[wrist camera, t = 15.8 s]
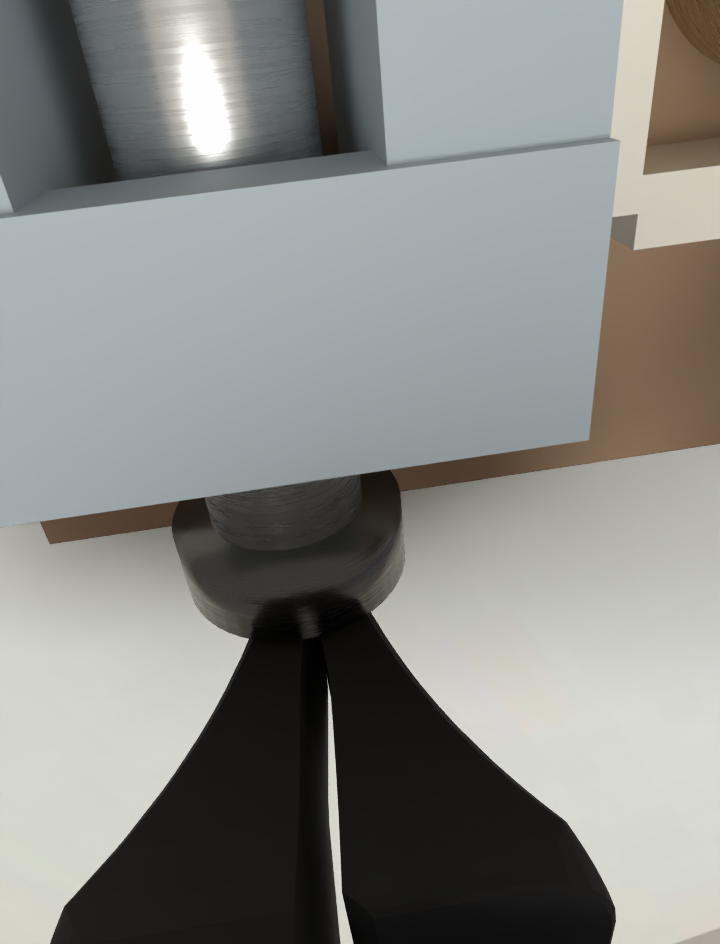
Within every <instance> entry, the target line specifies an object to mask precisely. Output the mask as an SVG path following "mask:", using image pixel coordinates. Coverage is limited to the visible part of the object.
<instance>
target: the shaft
mask: <svg viewBox="0 0 720 944" xmlns="http://www.w3.org/2000/svg"><path fill="white" fill-rule="evenodd" d="M69 3H70V7H71V11H72V14H73V18H74V22H75V25H76V29H77V33H78V36H79V40H80V44H81V47H82V51H83V55H84V58H85V62H86V66H87V69H88V73H89V77H90V80H91V84H92V88H93V91H94V95H95V99H96V102H97V106H98V109H99V113H100V117H101V120H102V124H103V128H104V131H105V135H106V139H107V142H108V146H109V150H110V153H111V157H112V161H113V164H114V168H115V172H116V175H117V179H118V182H119V181H127V180H135V179H143V178H151V177H159V176H167V175H175V174H183V173H191V172H199V171H207V170H216V169H224V168H232V167H240V166H248V165H256V164H264V163H272V162H280V161H288V160H296V159H304V158H312V157H320V156H323V153H322V145H321V136H320V127H319V119H318V110H317V101H316V93H315V84H314V75H313V67H312V58H311V49H310V41H309V32H308V23H307V15H306V6H305V0H69ZM172 533H173V538H174V541H175V544H176V548H177V551H178V554H179V557H180V560H181V563H182V567H183V570H184V573H185V576H186V579H187V582H188V585H189V589H190V592H191V595H192V597H193V600H194V602H195V605H196V606H197V608H198V609H199V611H200V612H201V613H202V614H203V615H204V616H205V617H206V618H207V619H208V620H209V621H210V622H212V623H213V624H214V625H216V626H217V627H219V628H221V629H223V630H225V631H227V632H229V633H232V634H235V635H238V636H240V637H244V638H249V639H254V640H262V641H294V640H303V639H308V638H312V637H317V636H321V635H324V634H327V633H331V632H334V631H336V630H339V629H341V628H343V627H346V626H348V625H350V624H352V623H354V622H356V621H357V620H359V619H361V618H363V617H364V616H365V615H367V614H368V613H370V612H371V611H373V610H374V609H375V608H376V607H377V606H378V605H380V604H381V603H382V602H383V601H384V600H385V599H386V598H387V596H388V595H389V594H390V593H391V592H392V590H393V589H394V587H395V586H396V584H397V582H398V581H399V578H400V576H401V574H402V571H403V567H404V562H405V548H404V535H403V522H402V509H401V496H400V489H399V485H398V482H397V480H396V478H395V476H394V475H393V473H392V472H391V470H384V471H378V472H371V473H364V474H357V475H351V476H344V477H337V478H330V479H324V480H317V481H310V482H303V483H297V484H290V485H283V486H276V487H270V488H263V489H256V490H250V491H243V492H236V493H229V494H223V495H216V496H209V497H202V498H196V499H189V500H182V501H179V503H178V505H177V507H176V509H175V512H174V515H173V519H172Z"/></svg>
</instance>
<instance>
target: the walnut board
mask: <svg viewBox="0 0 720 944" xmlns="http://www.w3.org/2000/svg"><path fill="white" fill-rule="evenodd" d="M305 6H306V15H307V23H308V32H309V41H310V49H311V58H312V67H313V75H314V84H315V93H316V101H317V110H318V119H319V127H320V136H321V145H322V153H323V156H328V155H336V154H339V147H338V138H337V128H336V118H335V109H334V99H333V89H332V80H331V70H330V60H329V50H328V41H327V31H326V21H325V12H324V2H323V0H305ZM717 137H720V64H718V63H716V62H715V61H713V60H711V59H710V58H708V57H706V56H704V55H703V54H702V53H701V52H700V51H699V50H697V49H696V48H695V47H694V46H693V45H692V44H691V43H690V42H689V41H688V40H687V38H686V37H685V36H684V35H683V33H682V32H681V31H680V30H679V28H678V26H677V24H676V23H675V21H674V19H673V17H672V16H671V14H670V12H669V9H668V6H667V4H666V1H664V9H663V17H662V25H661V33H660V41H659V49H658V57H657V65H656V73H655V81H654V89H653V97H652V106H651V114H650V122H649V130H648V138H647V146H653V145H661V144H669V143H677V142H685V141H693V140H701V139H709V138H717ZM714 444H720V239H713V240H706V241H698V242H691V243H684V244H676V245H669V246H661V247H654V248H646V249H639V250H632V249H630V248H629V247H627V246H625V245H623V244H622V243H620V242H618V241H616V240H614V239H613V238H611V237H610V244H609V253H608V263H607V272H606V282H605V291H604V301H603V311H602V320H601V330H600V339H599V349H598V358H597V368H596V377H595V387H594V396H593V406H592V415H591V425H590V434H589V440H586V441H580V442H573V443H566V444H559V445H553V446H546V447H539V448H533V449H526V450H519V451H512V452H506V453H499V454H492V455H485V456H479V457H472V458H465V459H458V460H452V461H445V462H438V463H431V464H425V465H418V466H411V467H405V468H398V469H391V472H392V473H393V475H394V476H395V478H396V480H397V482H398V485H399V489H400V492H401V491H407V490H414V489H421V488H427V487H434V486H441V485H447V484H454V483H461V482H467V481H474V480H481V479H487V478H494V477H501V476H507V475H514V474H521V473H527V472H534V471H541V470H547V469H554V468H561V467H567V466H574V465H581V464H587V463H594V462H601V461H607V460H614V459H621V458H627V457H634V456H641V455H647V454H654V453H661V452H667V451H674V450H681V449H687V448H694V447H700V446H707V445H714ZM178 503H179V501H175V502H169V503H162V504H155V505H148V506H142V507H135V508H128V509H121V510H115V511H108V512H101V513H95V514H88V515H81V516H74V517H68V518H61V519H54V520H47V521H41V522H40V523H41V525H42V528H43V530H44V532H45V534H46V536H47V539H48V541H49V543H50V544H55V543H61V542H68V541H75V540H81V539H88V538H94V537H101V536H108V535H114V534H121V533H128V532H134V531H141V530H148V529H154V528H161V527H168V526H172V519H173V515H174V512H175V509H176V507H177V505H178Z"/></svg>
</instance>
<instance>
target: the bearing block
mask: <svg viewBox="0 0 720 944" xmlns="http://www.w3.org/2000/svg"><path fill="white" fill-rule="evenodd" d="M323 2H324V12H325V21H326V31H327V41H328V50H329V60H330V70H331V80H332V89H333V99H334V109H335V118H336V128H337V138H338V147H339V154H336V155H328V156H320V157H312V158H304V159H296V160H288V161H280V162H272V163H264V164H256V165H248V166H240V167H232V168H224V169H216V170H207V171H199V172H191V173H183V174H175V175H167V176H159V177H151V178H143V179H135V180H127V181H119V182H118V179H117V175H116V172H115V168H114V164H113V161H112V157H111V153H110V150H109V146H108V142H107V139H106V135H105V131H104V128H103V124H102V120H101V117H100V113H99V109H98V106H97V102H96V99H95V95H94V91H93V88H92V84H91V80H90V77H89V73H88V69H87V66H86V62H85V58H84V55H83V51H82V47H81V44H80V40H79V36H78V33H77V29H76V25H75V22H74V18H73V14H72V11H71V7H70V3H69V0H0V527H7V526H14V525H20V524H27V523H34V522H41V521H47V520H54V519H61V518H68V517H74V516H81V515H88V514H95V513H101V512H108V511H115V510H121V509H128V508H135V507H142V506H148V505H155V504H162V503H169V502H175V501H182V500H189V499H196V498H202V497H209V496H216V495H223V494H229V493H236V492H243V491H250V490H256V489H263V488H270V487H276V486H283V485H290V484H297V483H303V482H310V481H317V480H324V479H330V478H337V477H344V476H351V475H357V474H364V473H371V472H378V471H384V470H391V469H398V468H405V467H411V466H418V465H425V464H431V463H438V462H445V461H452V460H458V459H465V458H472V457H479V456H485V455H492V454H499V453H506V452H512V451H519V450H526V449H533V448H539V447H546V446H553V445H559V444H566V443H573V442H580V441H586V440H589V434H590V425H591V415H592V406H593V396H594V387H595V377H596V368H597V358H598V349H599V339H600V330H601V320H602V311H603V301H604V291H605V282H606V272H607V263H608V253H609V244H610V234H611V225H612V215H613V206H614V196H615V187H616V177H617V168H618V158H619V149H620V140H616V139H613V138H610V136H611V125H612V115H613V105H614V95H615V84H616V74H617V64H618V54H619V43H620V33H621V23H622V13H623V2H624V0H323Z"/></svg>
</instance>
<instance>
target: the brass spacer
mask: <svg viewBox="0 0 720 944" xmlns="http://www.w3.org/2000/svg"><path fill="white" fill-rule="evenodd" d="M665 1H666V4H667V6H668V9H669V12H670V14H671V16H672V17H673V19H674V21H675V23H676V24H677V26H678V28H679V30H680V31H681V32H682V33H683V35H684V36H685V37H686V38H687V40H688V41H689V42H690V43H691V44H692V45H693V46H694V47H695V48H696V49H697V50H699V51H700V52H701V53H702V54H703V55H704V56H706V57H708V58H710V59H711V60H713V61H715V62H716V63H718V64H720V0H665Z"/></svg>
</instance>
